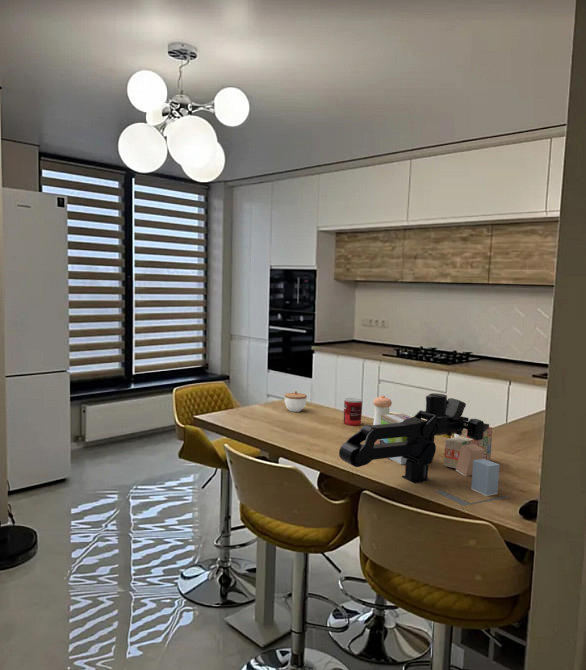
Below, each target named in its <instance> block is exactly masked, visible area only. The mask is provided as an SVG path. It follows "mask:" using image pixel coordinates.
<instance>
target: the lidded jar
mask: <svg viewBox="0 0 586 670" xmlns="http://www.w3.org/2000/svg"><path fill="white" fill-rule="evenodd" d="M306 404H307V394H305V393H302V392H298V391H296V390H295V391H294V392H287V393H284V405H285V407H286V408H287V410H288V411H289V412H293V413H299V412H302V410H304V408H305V407H306Z"/></svg>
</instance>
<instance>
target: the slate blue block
mask: <svg viewBox="0 0 586 670" xmlns="http://www.w3.org/2000/svg"><path fill="white" fill-rule="evenodd" d="M499 476H500V464H499V463H496V462H493V461H491V460H490V461H489V460H486V459H479V460H473V472H472V475H471V485H470V486H471V489H470V490H472V491H475V492H477V493H479V494H481V495H483V496H485V497H489V496H494V495H498V492H499V479H500V477H499Z"/></svg>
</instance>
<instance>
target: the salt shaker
mask: <svg viewBox="0 0 586 670" xmlns="http://www.w3.org/2000/svg"><path fill="white" fill-rule="evenodd" d="M392 402H393V401H392V399H390V398H389V397H385V395H381V396H379V397H376V398H374V400H373V405H374V418H373V424H372V425H380V424H381V415H390V407H391V406H392ZM375 444H380V439H378V440H377V441H376V442H375Z"/></svg>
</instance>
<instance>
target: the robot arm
mask: <svg viewBox="0 0 586 670" xmlns="http://www.w3.org/2000/svg"><path fill="white" fill-rule="evenodd" d="M425 402H426V403H425V410H419V411H418V412H417V413H416V414H415V415H413V416H411V417H412V418H408V419H405V420H404V421H403V422H400V423H391V424H380V425H373V424H371V425H370V424H365V425H363V426H362V428H360V430H359V431H358V432H356V433H354V434H353V435H351V436H350V437H349V438H348V439H347V440H346V441H345V442H344V443H342V445H341V446H340V448H339V450H338V451H339V452H338V455H339V458H340V459H341V460H342V461H343V462H345V463H347V464H349V465H351V466H353V467H355V468H361V467H363V466H366V465H369V463H371V462H372V461H376V460H383V459H389V458H393V457H401V456H403V458H406V459H408V460H406V464H405V469H404V475H401V478H403V479H404V480H406V481H409V482H411V483H413V484H420V483H424V482H429V481H431V479H430V478H428V474H429V465H431V464H432V462H433V460H434V457H435V454H436V451H437V445H436V443H435V437H436V436H442V435H443V436H444V435H446V436H448V437H451V436H453V435H457V436H459V435H462V431H463V429H467V430H468V432H467V436H468V437H469V438H471V439H474V440H477V441H478V440H482V439H483V433H484V432H485V431H486V430H487V429H488V428H489V427H490V424H489V423H484V421H483V420H480V419H478V418H470V419H469V417H466V416H463V413H464V411H465V408H466V407H467V406H466V405H467V403H466V402H464V401H462V400H459V399H456V398H452V397H451V398H448V395H447V394H443V393H438V392H437V393H435V392H434V393H429V394H428V395H426V396H425ZM397 437H407V439H406V440H405V441H403V442H394V443H384V444H375V442H376V441H377V440H378V439H388V438H397ZM363 442H364V443H363Z"/></svg>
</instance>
